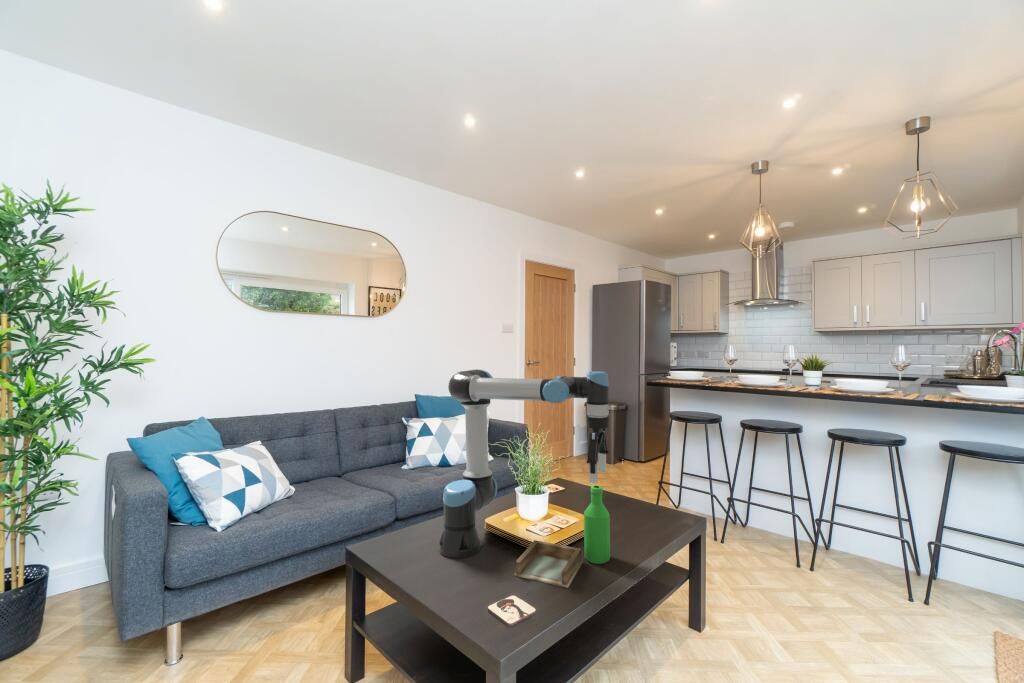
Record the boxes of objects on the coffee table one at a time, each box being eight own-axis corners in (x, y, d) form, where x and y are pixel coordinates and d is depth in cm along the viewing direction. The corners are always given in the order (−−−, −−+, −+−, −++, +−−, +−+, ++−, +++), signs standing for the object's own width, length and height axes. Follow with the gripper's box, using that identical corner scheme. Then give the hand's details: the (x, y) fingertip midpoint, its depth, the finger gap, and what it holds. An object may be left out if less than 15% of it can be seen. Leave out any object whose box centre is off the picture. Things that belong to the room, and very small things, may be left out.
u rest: (514, 575, 143) (514, 561, 143) (533, 552, 158) (533, 539, 158) (568, 587, 135) (567, 572, 135) (582, 562, 151) (582, 549, 151)
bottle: (610, 566, 148) (609, 491, 148) (584, 564, 150) (583, 490, 150) (609, 554, 157) (609, 483, 157) (585, 552, 158) (584, 482, 159)
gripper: (600, 422, 141) (600, 489, 141) (615, 411, 164) (615, 468, 164) (577, 421, 144) (578, 486, 144) (595, 410, 167) (595, 466, 167)
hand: (598, 477), depth 154 cm, fingers open, 13 cm apart
